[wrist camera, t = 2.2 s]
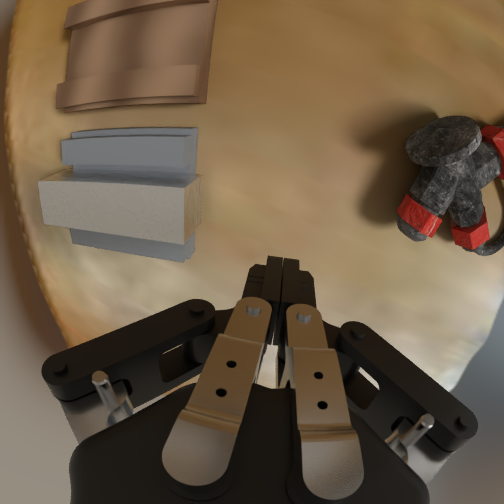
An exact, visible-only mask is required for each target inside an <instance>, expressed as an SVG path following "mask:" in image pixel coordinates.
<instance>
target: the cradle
mask: <svg viewBox="0 0 504 504" xmlns="http://www.w3.org/2000/svg"><path fill="white" fill-rule="evenodd" d="M217 2H218V0H87V1H84V2H81V3H79V4H76V5H74V6H71V7H69V8H68V11H67V16H66V21H65V26H64V28H65V29H70V30H72V35H71V42H70V49H69V56H68V65H67V76H66V82H64V83H60V84H57V96H56V109H57V108H65V113H67V112H75V111H82V110H89V109H97V108H106V107H116V106H127V105H142V104H167V103H204V104H206V98H207V87H208V76H209V66H210V57H211V48H212V40H213V31H214V24H215V16H216V9H217Z"/></svg>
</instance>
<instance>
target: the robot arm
mask: <svg viewBox="0 0 504 504" xmlns="http://www.w3.org/2000/svg"><path fill="white" fill-rule="evenodd" d="M282 263H283V266H282ZM273 333H274V338H273ZM272 338H273V345H277V346H278V352H277V356H276V389H270V388H267V387H264V386H261V385H258V384H257V381H258V377H259V373H260V369H261V365H262V361H263V356H264V354H265V352H266V349H267V344H269V345H271V343H272ZM181 344H182V345H181ZM179 345H181V346H179ZM176 346H179V347H177V348H175V349H173V350H171V351H169V352H167V353H165V354H163V353H164V352H166V351H168V350H170V349H172V348H174V347H176ZM360 367H361V368H362V369H363V370H364V371H366V372H367V373H368V374H369V375H370V376H371V377H372V378H373V379H374V380H376V381H377V383H378V385H379V390H378V389H377V388H376V387H375V386H374V385H373V384H372V383H371V382H370V381H368V380H367V379H366V378H365V377H364V376H363V375H362V374H361V373H360V372H359V369H360ZM200 373H201V374H200ZM198 374H200V377H199V379H198V381H197V383H192V384H189V385H186V386H184V387H181V388H179V389H177V390H176V391H174V392H172V393H171V394H169V395H167V396H165V397H164V398H162V399H160V400H158V401H157V402H155V403H153V404H152V405H149V406H148V407H146V408H144V409H142V410H140V411H138V412H137V413H135V414H133V409H134V408H136V407H137V406H140V405H142V404H144V403H146V402H148V401H150V400H152V399H154V398H156V397H158V396H160V395H161V394H163V393H165V392H167V391H169V390H171V389H173V388H175V387H177V386H178V385H180V384H182V383H184V382H186V381H188V380H189V379H191V378H193V377H195V376H197V375H198ZM42 376H43V378H44V380H45V382H46V383H47V385H48V386H49V388H50V389H51V392H52V394H53V396H54V397H55V399H56V400H57V402H58V403H59V404H60V406H61V408H62V409H63V411H64V413H65V415H66V418H67V420H68V422H69V424H70V426H71V429H72V431H73V433H74V435H75V437H76V439H77V441H78V443H79V445H78V446H77V447H76V449H75V450H74V452H73V454H72V456H71V459H70V463H69V474H70V481H71V502H70V504H429V503H430V498H429V492H428V489H427V484H428V483H429V482H430V481H431V480H432V478H433V477H434V476H435V475H436V473H437V472H438V471H439V470H440V468H441V467H442V466H443V464H444V463H445V461H446V460H447V459H448V457H449V456H450V455H452V454H453V453H454V452H455V451H457V450H458V449H459V448H460V447H461V446H463V445H464V444H465V443H466V442H467V441H468V440H470V439H471V438H472V437H473V436H474V435H475V433H476V432H477V429H478V422H477V419H476V417H475V415H474V414H473V412H471V411H470V410H469V409H468V408H467V407H466V406H465V405H463V404H462V403H461V402H460V401H458V400H457V399H456V398H455V397H454V396H453V395H451V394H450V393H449V392H448V391H447V390H445V389H444V388H443V387H442V386H441V385H439V384H438V383H437V382H436V381H435V380H433V379H432V378H431V377H430V376H428V375H427V374H426V373H425V372H424V371H422V370H421V369H420V368H419V367H417V366H416V365H415V364H414V363H413V362H411V361H410V360H409V359H408V358H406V357H405V356H404V355H403V354H402V353H400V352H399V351H398V350H397V349H395V348H394V347H393V346H392V345H390V344H389V343H388V342H387V341H386V340H384V339H383V338H382V337H381V336H379V335H378V334H377V333H376V332H374V331H373V330H372V329H371V328H369V327H368V326H367V325H365V324H363V323H360V322H356V321H350V322H346V323H344V324H343V325H342V326H341V328H339V327H336V326H333V325H330V324H328V323H326V322H325V321H323V320H322V316H321V314H320V312H319V311H318V310H317V309H316V298H315V288H314V279H313V277H312V275H311V274H310V273H309V272H308V271H301V270H299V260H296V259H289V258H284V260H283V258H282V257H275V256H268V258H267V264H266V265H259V264H255V265H254V266H252V267H251V268H250V269H249V273H248V277H247V281H246V284H245V288H244V291H243V295H242V299H241V300H239V301H238V302H237V304H236V306H235V307H234V308H231V309H227V310H215V308H214V306H213V305H212V304H211V303H210V302H208V301H205V300H202V299H191V300H188V301H185V302H183V303H180V304H178V305H175V306H173V307H171V308H168V309H166V310H163V311H161V312H159V313H156V314H154V315H151V316H149V317H147V318H144V319H142V320H139V321H137V322H134V323H132V324H129V325H127V326H125V327H122V328H120V329H117V330H115V331H112V332H110V333H107V334H105V335H102V336H100V337H97V338H95V339H92V340H90V341H87V342H85V343H82V344H80V345H77V346H74V347H72V348H69V349H67V350H64V351H62V352H59V353H57V354H54V355H52V356H50V357H49V358H48V359H47V360H46V361H45V362H44V364H43V366H42Z"/></svg>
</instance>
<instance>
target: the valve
mask: <svg viewBox="0 0 504 504" xmlns="http://www.w3.org/2000/svg"><path fill="white" fill-rule="evenodd" d="M405 148H406V151H407V154H408V156H409V158H410V159H411V160H412V161H413V162H414V163H416V164H418V165H422V166H423V168H422V169H421V171H420V173H419V175H418V177H417V178H416V180H415V182H414V184H413V185H412V187H411V189H410V192H411V193H412V194H413V195H412V196H410V195H408V194H406V196H405V197H404V199H403V201H402V202H401V204H400V206H399V208H398V209H397V212H398V214H399V215H398V217H397V218H396V220H397V225H398V228H399V230H400V231H401V232H402V233H403V234H405V235H406V236H407V237H408V238H410V239H412V240H413V241H416V242H418V241H424V240H426V238H427V237H428V236H429V237H431V238H432V236H433V235H434V233H435V232H436V230H437V228H438V227H439V225H440V224H441V222H442V219H441V218H440V217H439V216H438V215H439V214H441V215H444V213H445V212H446V210H447V209H448V211H449V214H450V220H451V231H452V235H453V238H454V242H455V244H456V245H459V246H462V247H463V249H465V250H466V251H469V252H475V253H477V254H478V255H482V256H487V255H492V254H494V253H496V252H497V251H499V250H500V249H501V248H502V247H503V246H504V232H503V234H502V235H501V236H500V238H499V239H498V240H496V241H495V242H494V243H493V244H491V245H488V246H484V244H485V242H486V241H487V240H488V239H490V237H489V230H488V223H487V217H486V212H485V207H484V206H483V203H482V194H481V189H482V188H483V187H485V186H486V185H487V184H488V183H490V182H491V181H492V180H493V179H495V178H496V177H499V178H501V179H503V180H504V125H501V126H492V125H487V126H486V127H484V128H483V129H482V130H480V128H479V126H478V124H477V122H476V121H475V120H473V119H471V118H469V117H465V116H447V117H443V118H439V119H436V120H434V121H432V122H430V123H429V124H427V125H425V126H424V127H422V128H421V129H419V130H417V131H416V132H414V133H413V134H411V135H410V136H409V138H408V139H407V141H406V144H405Z"/></svg>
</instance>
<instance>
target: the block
mask: <svg viewBox="0 0 504 504" xmlns="http://www.w3.org/2000/svg"><path fill="white" fill-rule="evenodd" d="M38 187H39V195H40V202H41V209H42V215H43V220H44V224H47V225H54V226H60V227H67V228H74V229H80V230H87V231H94V232H100V233H107V234H114V235H121V236H127V237H134V238H141V239H148V240H155V241H161V242H168V243H175V244H182V245H184V244H185V243H186V242H187V240H188V239H189V238H190V236H191V235H192V234H193V233H194V231H195V230H196V229H197V227H198V226H199V225H200V223H201V196H202V175H200V174H188V173H174V172H158V171H138V170H108V169H65V170H63V171H60V172H58V173H55V174H53V175H51V176H48V177H46V178H44V179H41V180H39V181H38Z"/></svg>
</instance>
